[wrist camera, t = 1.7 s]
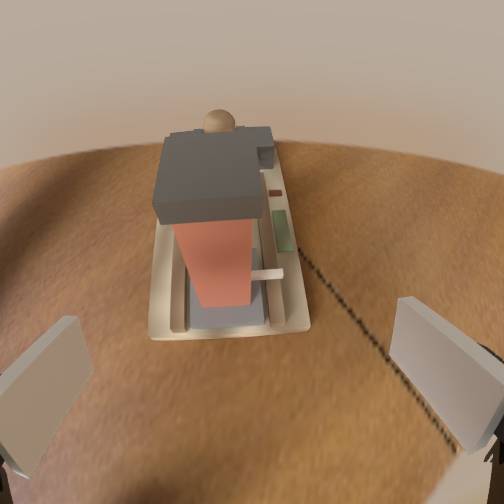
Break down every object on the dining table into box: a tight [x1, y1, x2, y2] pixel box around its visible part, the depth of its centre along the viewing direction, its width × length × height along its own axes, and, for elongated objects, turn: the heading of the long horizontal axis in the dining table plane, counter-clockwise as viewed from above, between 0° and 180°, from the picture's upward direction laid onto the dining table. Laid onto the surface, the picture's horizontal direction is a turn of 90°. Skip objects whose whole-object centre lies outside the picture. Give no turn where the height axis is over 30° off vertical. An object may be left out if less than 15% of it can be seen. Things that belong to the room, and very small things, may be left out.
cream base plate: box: [148, 148, 311, 340], centre depth 30 cm, size 14×23×3 cm, turn 5°
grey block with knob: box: [170, 126, 275, 170], centre depth 33 cm, size 12×4×5 cm, turn 95°
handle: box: [152, 130, 284, 329], centre depth 20 cm, size 8×7×15 cm
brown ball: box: [203, 110, 235, 133], centre depth 30 cm, size 4×4×4 cm
